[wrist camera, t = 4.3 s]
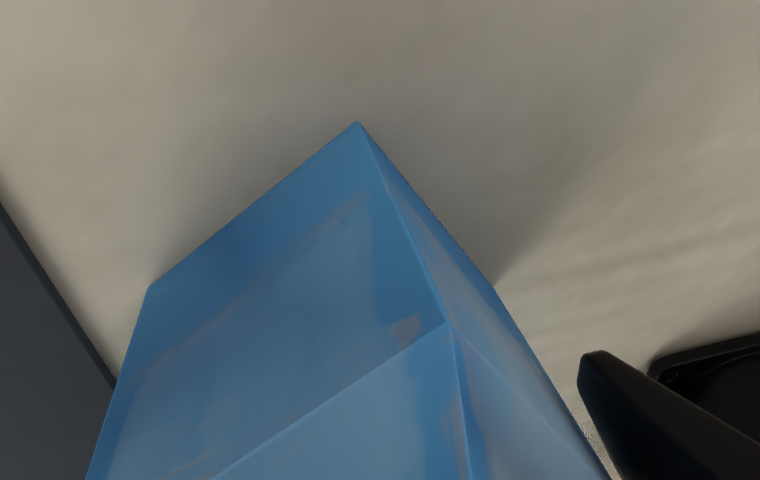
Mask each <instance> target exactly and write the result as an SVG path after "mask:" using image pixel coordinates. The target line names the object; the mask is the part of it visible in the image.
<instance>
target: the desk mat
mask: <svg viewBox="0 0 760 480" xmlns="http://www.w3.org/2000/svg"><path fill="white" fill-rule="evenodd" d="M116 384H117V382H116V381H115V379H114V378H113V376H112V375H111V373H110V372H109V370H108V369H107V367H106V365H105V364H104V362H103V361H102V359H101V358H100V356H99V355H98V353H97V352H96V350H95V348H94V347H93V345H92V344H91V342H90V341H89V339H88V338H87V336H86V335H85V333H84V332H83V330H82V328H81V327H80V325H79V324H78V322H77V321H76V319H75V318H74V316H73V315H72V313H71V312H70V310H69V308H68V307H67V305H66V304H65V302H64V301H63V299H62V298H61V296H60V295H59V293H58V291H57V290H56V288H55V287H54V285H53V284H52V282H51V281H50V279H49V278H48V276H47V275H46V273H45V271H44V270H43V268H42V267H41V265H40V264H39V262H38V261H37V259H36V258H35V256H34V254H33V253H32V251H31V250H30V248H29V247H28V245H27V244H26V242H25V241H24V239H23V238H22V236H21V234H20V233H19V231H18V230H17V228H16V227H15V225H14V224H13V222H12V221H11V219H10V218H9V216H8V214H7V213H6V211H5V210H4V208H3V207H2V205H1V204H0V480H82V479H85V478H86V475H87V472H88V469H89V466H90V463H91V460H92V457H93V454H94V451H95V447H96V444H97V441H98V438H99V435H100V432H101V429H102V426H103V423H104V420H105V417H106V414H107V411H108V408H109V405H110V402H111V399H112V396H113V393H114V390H115V387H116Z"/></svg>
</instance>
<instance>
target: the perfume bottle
mask: <svg viewBox="0 0 760 480" xmlns="http://www.w3.org/2000/svg"><path fill="white" fill-rule="evenodd" d="M85 480H612V479H611V477H610V476H609V474H608V472H607V471H606V469H605V468H604V466H603V464H602V463H601V461H600V459H599V458H598V456H597V455H596V453H595V451H594V450H593V448H592V447H591V445H590V443H589V442H588V440H587V438H586V437H585V435H584V434H583V432H582V430H581V429H580V427H579V426H578V424H577V422H576V421H575V419H574V417H573V416H572V414H571V413H570V411H569V409H568V408H567V406H566V405H565V403H564V401H563V400H562V398H561V396H560V395H559V393H558V392H557V390H556V388H555V387H554V385H553V384H552V382H551V380H550V379H549V377H548V375H547V374H546V372H545V371H544V369H543V367H542V366H541V364H540V363H539V361H538V359H537V358H536V356H535V354H534V353H533V351H532V350H531V348H530V346H529V345H528V343H527V342H526V340H525V338H524V337H523V335H522V333H521V332H520V330H519V329H518V327H517V325H516V324H515V322H514V321H513V319H512V317H511V316H510V314H509V312H508V311H507V309H506V308H505V306H504V304H503V303H502V301H501V300H500V298H499V296H498V295H497V293H496V291H495V290H494V288H493V287H492V286H491V285H490V283H489V282H488V281H487V280H486V278H485V277H484V276H483V275H482V274H481V272H480V271H479V270H478V269H477V267H476V266H475V265H474V264H473V262H472V261H471V260H470V259H469V257H468V256H467V255H466V254H465V253H464V251H463V250H462V249H461V248H460V246H459V245H458V244H457V243H456V241H455V240H454V239H453V238H452V237H451V235H450V234H449V233H448V232H447V230H446V229H445V228H444V227H443V225H442V224H441V223H440V222H439V220H438V219H437V218H436V217H435V216H434V214H433V213H432V212H431V211H430V209H429V208H428V207H427V206H426V204H425V203H424V202H423V201H422V200H421V198H420V197H419V196H418V195H417V193H416V192H415V191H414V190H413V188H412V187H411V186H410V185H409V184H408V182H407V181H406V180H405V179H404V177H403V176H402V175H401V174H400V172H399V171H398V170H397V169H396V167H395V166H394V165H393V164H392V163H391V161H390V160H389V159H388V158H387V156H386V155H385V154H384V153H383V151H382V150H381V149H380V148H379V147H378V145H377V144H376V143H375V142H374V140H373V139H372V138H371V137H370V135H369V134H368V133H367V132H366V130H365V129H364V128H363V127H362V126H361V124H360V123H359V122H358V121H356V122H355V123H353V124H352V125H351V126H350V127H348V128H347V129H346V130H345V131H343V132H342V133H341V134H340V135H338V136H337V137H336V138H335V139H333V140H332V141H331V142H330V143H328V144H327V145H326V146H325V147H323V148H322V149H321V150H320V151H318V152H317V153H316V154H315V155H313V156H312V157H311V158H310V159H308V160H307V161H306V162H305V163H303V164H302V165H301V166H300V167H298V168H297V169H296V170H295V171H293V172H292V173H291V174H290V175H288V176H287V177H286V178H285V179H283V180H282V181H281V182H280V183H278V184H277V185H276V186H275V187H273V188H272V189H271V190H270V191H268V192H267V193H266V194H265V195H263V196H262V197H261V198H260V199H258V200H257V201H256V202H255V203H253V204H252V205H251V206H250V207H248V208H247V209H246V210H245V211H243V212H242V213H241V214H240V215H238V216H237V217H236V218H235V219H233V220H232V221H231V222H230V223H228V224H227V225H226V226H225V227H223V228H222V229H221V230H220V231H218V232H217V233H216V234H215V235H213V236H212V237H211V238H210V239H208V240H207V241H206V242H205V243H203V244H202V245H201V246H200V247H198V248H197V249H196V250H195V251H193V252H192V253H191V254H190V255H188V256H187V257H186V258H185V259H183V260H182V261H181V262H180V263H178V264H177V265H176V266H175V267H173V268H172V269H171V270H170V271H168V272H167V273H166V274H165V275H163V276H162V277H161V278H160V279H158V280H157V281H156V282H155V283H153V284H152V285H151V286H150V287H148V289H147V292H146V295H145V298H144V301H143V304H142V307H141V310H140V313H139V316H138V320H137V323H136V326H135V329H134V332H133V335H132V338H131V341H130V344H129V347H128V350H127V353H126V356H125V359H124V362H123V365H122V368H121V371H120V374H119V377H118V380H117V384H116V387H115V390H114V393H113V396H112V399H111V402H110V405H109V408H108V411H107V414H106V417H105V420H104V423H103V426H102V429H101V432H100V435H99V438H98V441H97V444H96V447H95V451H94V454H93V457H92V460H91V463H90V466H89V469H88V472H87V475H86V478H85Z"/></svg>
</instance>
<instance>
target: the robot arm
mask: <svg viewBox="0 0 760 480" xmlns="http://www.w3.org/2000/svg"><path fill="white" fill-rule="evenodd" d="M577 388H578V391H579V394H580V396H581V398H582V400H583V402H584V404H585V406H586V409H587V411H588V413H589V415H590V417H591V419H592V421H593V423H594V425H595V427H596V429H597V431H598V434H599V436H600V438H601V440H602V442H603V444H604V446H605V448H606V450H607V452H608V454H609V456H610V458H611V460H612V462H613V464H614V466H615V468H616V470H617V472H618V473H619V475H620V477H621V479H622V480H760V334H756V335H752V336H748V337H744V338H740V339H736V340H732V341H728V342H724V343H720V344H716V345H712V346H708V347H704V348H700V349H696V350H692V351H688V352H684V353H680V354H675V355H671V356H667V357H664V358H661V359H659V360H658V361H656V362H655V363H654V364H653V365H652V366H651V367H650V369H649V372H648V375H645V374H644V373H642V372H640V371H639V370H637V369H635V368H634V367H632V366H630V365H629V364H627V363H625V362H624V361H622V360H620V359H619V358H617V357H615V356H614V355H612V354H610V353H609V352H607V351H604V350H598V351H594V352H590V353H586V354H584V355H583V356H582V357H581V360H580V366H579V371H578V377H577ZM82 480H85V479H82Z"/></svg>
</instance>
